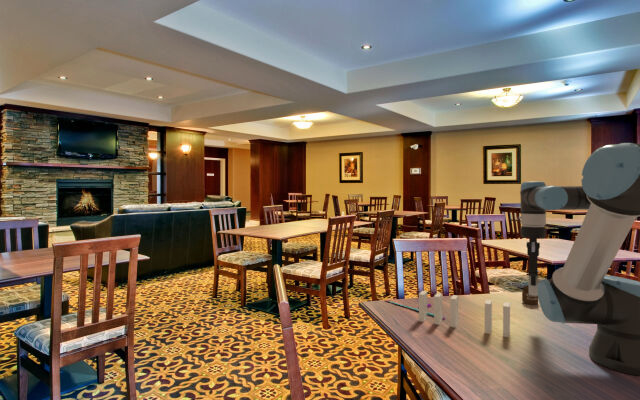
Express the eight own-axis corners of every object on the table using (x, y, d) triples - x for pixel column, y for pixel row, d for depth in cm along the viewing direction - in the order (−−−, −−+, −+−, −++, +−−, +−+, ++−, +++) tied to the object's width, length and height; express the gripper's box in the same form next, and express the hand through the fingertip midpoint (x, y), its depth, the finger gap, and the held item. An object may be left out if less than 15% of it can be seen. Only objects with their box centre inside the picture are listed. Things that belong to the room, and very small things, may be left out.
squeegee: (458, 311, 136) (443, 316, 130) (458, 315, 136) (443, 321, 130) (399, 295, 159) (384, 299, 153) (400, 299, 159) (384, 303, 153)
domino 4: (491, 329, 121) (491, 300, 121) (490, 334, 117) (490, 304, 117) (486, 328, 122) (486, 299, 122) (484, 333, 118) (484, 303, 118)
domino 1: (427, 317, 132) (427, 291, 132) (423, 322, 128) (423, 294, 128) (422, 316, 133) (422, 290, 133) (418, 321, 129) (418, 294, 129)
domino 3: (458, 323, 127) (458, 295, 127) (455, 327, 122) (455, 299, 122) (452, 322, 128) (452, 294, 128) (450, 326, 123) (450, 298, 123)
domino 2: (442, 320, 130) (442, 293, 129) (439, 324, 125) (439, 296, 125) (437, 319, 131) (437, 292, 130) (434, 323, 126) (434, 296, 126)
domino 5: (509, 332, 118) (510, 302, 118) (509, 337, 114) (509, 306, 114) (503, 331, 119) (504, 301, 119) (503, 336, 115) (503, 306, 115)
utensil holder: (519, 300, 153) (519, 273, 152) (533, 300, 152) (533, 273, 152) (527, 305, 147) (527, 276, 146) (542, 305, 147) (542, 276, 146)
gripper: (521, 224, 132) (521, 285, 132) (520, 227, 116) (520, 297, 116) (544, 224, 128) (544, 288, 128) (546, 228, 113) (547, 300, 113)
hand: (533, 292), depth 122 cm, fingers closed on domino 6, 5 cm apart
